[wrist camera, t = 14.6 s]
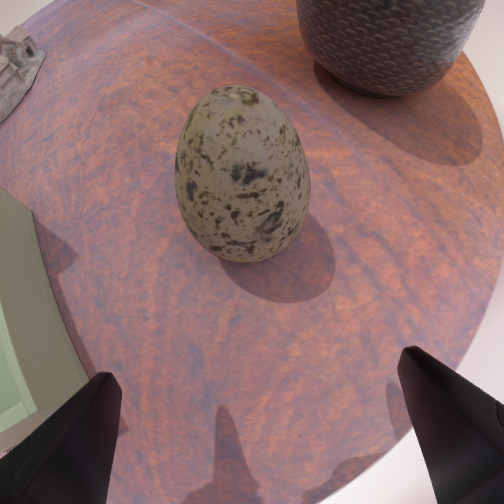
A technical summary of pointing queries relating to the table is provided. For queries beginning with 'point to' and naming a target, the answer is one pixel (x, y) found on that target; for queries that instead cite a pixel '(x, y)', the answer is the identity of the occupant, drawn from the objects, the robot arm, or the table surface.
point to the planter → (387, 41)
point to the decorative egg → (241, 175)
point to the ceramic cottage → (17, 68)
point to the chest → (29, 332)
